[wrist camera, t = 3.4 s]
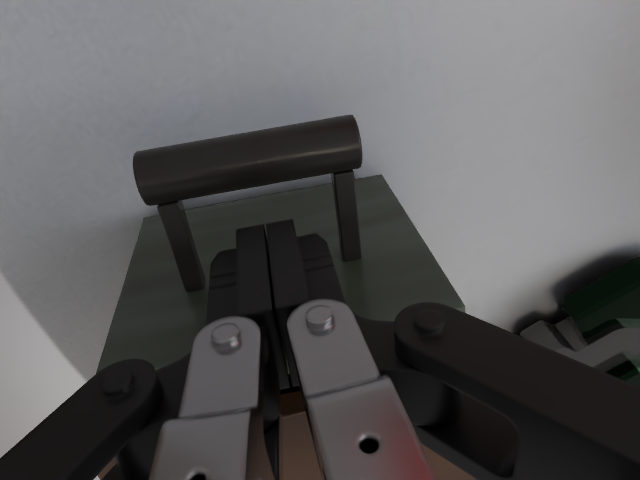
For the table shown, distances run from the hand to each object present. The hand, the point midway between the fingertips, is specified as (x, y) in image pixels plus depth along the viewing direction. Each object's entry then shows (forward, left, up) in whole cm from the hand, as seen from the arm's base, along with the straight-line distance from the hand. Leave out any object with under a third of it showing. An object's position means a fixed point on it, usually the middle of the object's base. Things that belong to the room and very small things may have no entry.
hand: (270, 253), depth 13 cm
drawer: (+3, -3, -7) cm, 9 cm away
